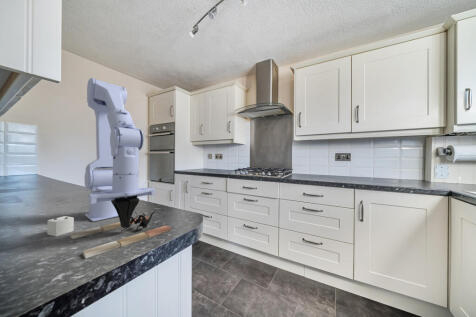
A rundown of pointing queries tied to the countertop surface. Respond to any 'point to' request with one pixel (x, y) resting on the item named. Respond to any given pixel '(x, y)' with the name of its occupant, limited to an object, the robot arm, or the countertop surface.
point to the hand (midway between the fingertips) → (124, 226)
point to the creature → (143, 221)
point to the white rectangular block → (60, 226)
